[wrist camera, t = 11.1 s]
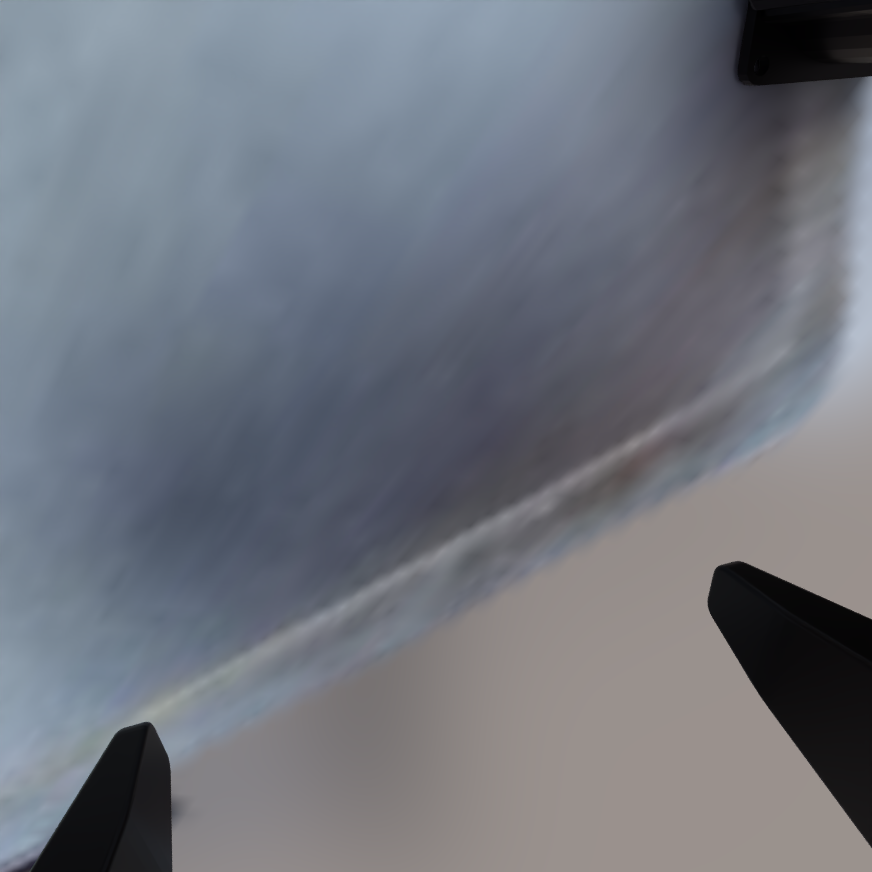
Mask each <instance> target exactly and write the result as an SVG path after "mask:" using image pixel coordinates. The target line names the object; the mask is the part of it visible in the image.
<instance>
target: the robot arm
mask: <svg viewBox="0 0 872 872" xmlns="http://www.w3.org/2000/svg"><path fill="white" fill-rule="evenodd" d="M758 59H759V60H760V66H759V69H758V71H757V72H756V73H755V72H754V66H755V63H756V61H757V60H758ZM867 76H872V0H749V4H748V10H747V16H746V22H745V28H744V34H743V40H742V46H741V52H740V58H739V64H738V77H739V80H740V81H741V82H742V83H743V84H744V85H754V86H759V85H771V84H783V83H795V82H807V81H819V80H831V79H843V78H855V77H867ZM708 608H709V611H710V614H711V616H712V618H713V619H714V621H715V623H716V624H717V626H718V628H719V629H720V631H721V633H722V634H723V636H724V638H725V639H726V641H727V643H728V644H729V646H730V648H731V649H732V651H733V653H734V654H735V656H736V658H737V659H738V661H739V663H740V664H741V666H742V668H743V669H744V671H745V672H746V674H747V676H748V678H749V679H750V681H751V683H752V684H753V685H754V687H755V689H756V690H757V692H758V693H759V695H760V696H761V698H762V699H763V701H764V702H765V703H766V705H767V706H768V708H769V709H770V711H771V712H772V713H773V715H774V716H775V717H776V719H777V720H778V721H779V723H780V724H781V726H782V727H783V728H784V730H785V731H786V732H787V734H788V735H789V736H790V738H791V739H792V740H793V742H794V743H795V744H796V746H797V747H798V748H799V750H800V751H801V753H802V754H803V755H804V757H805V758H806V759H807V761H808V762H809V764H810V765H811V766H812V768H813V769H814V770H815V772H816V773H817V774H818V776H819V777H820V778H821V780H822V781H823V782H824V784H825V785H826V786H827V788H828V789H829V791H830V792H831V793H832V795H833V796H834V797H835V799H836V800H837V801H838V803H839V804H840V806H841V807H842V808H843V809H844V811H845V812H846V814H847V815H848V816H849V818H850V819H851V821H852V822H853V823H854V825H855V826H856V827H857V829H858V830H859V831H860V833H861V834H862V835H863V837H864V838H865V839H866V841H867V842H868V843H869V845H870V846H871V848H872V619H870V618H868V617H865V616H863V615H861V614H859V613H856V612H854V611H852V610H850V609H847V608H845V607H843V606H841V605H839V604H836V603H834V602H832V601H830V600H827V599H825V598H823V597H821V596H819V595H816V594H814V593H812V592H810V591H807V590H805V589H803V588H801V587H798V586H796V585H794V584H792V583H789V582H787V581H785V580H782V579H780V578H778V577H776V576H774V575H772V574H769V573H767V572H765V571H763V570H760V569H758V568H756V567H754V566H751V565H749V564H747V563H744V562H741V561H735V562H731V563H727V564H723V565H720V566H718V567H717V568H716V569H715V571H714V574H713V578H712V583H711V587H710V591H709V596H708ZM30 872H172V824H171V770H170V763H169V758H168V755H167V753H166V751H165V749H164V746H163V744H162V742H161V740H160V738H159V736H158V734H157V732H156V730H155V728H154V726H153V725H152V724H151V723H149V722H144V723H140V724H136V725H133V726H129V727H125V728H123V729H121V730H119V731H118V732H117V733H116V734H115V735H114V737H113V738H112V740H111V742H110V743H109V745H108V746H107V748H106V750H105V751H104V753H103V754H102V756H101V758H100V759H99V761H98V762H97V764H96V766H95V767H94V769H93V770H92V772H91V774H90V775H89V777H88V779H87V780H86V782H85V783H84V785H83V787H82V788H81V790H80V791H79V793H78V795H77V796H76V798H75V799H74V801H73V803H72V804H71V806H70V807H69V809H68V811H67V812H66V814H65V815H64V817H63V819H62V820H61V822H60V823H59V825H58V827H57V828H56V830H55V832H54V833H53V835H52V836H51V838H50V840H49V841H48V843H47V844H46V846H45V848H44V849H43V851H42V852H41V854H40V856H39V857H38V859H37V860H36V862H35V864H34V865H33V867H32V868H31V870H30Z"/></svg>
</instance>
